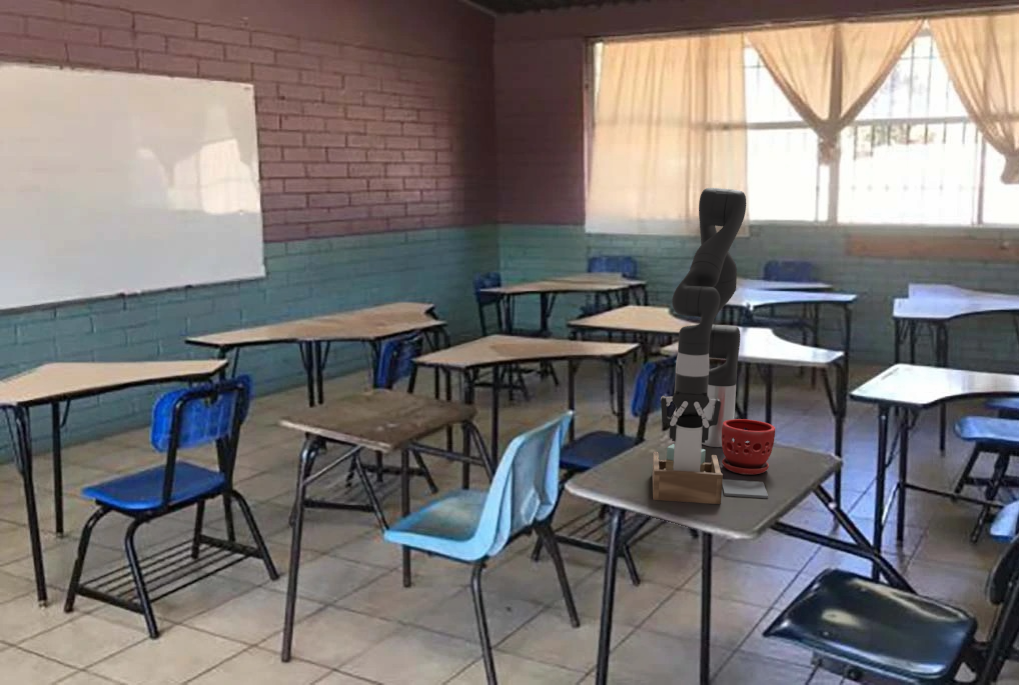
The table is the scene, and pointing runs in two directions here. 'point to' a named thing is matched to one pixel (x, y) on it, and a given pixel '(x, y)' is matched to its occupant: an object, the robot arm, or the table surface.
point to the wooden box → (687, 483)
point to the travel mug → (688, 443)
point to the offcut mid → (670, 462)
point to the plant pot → (747, 445)
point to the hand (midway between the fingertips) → (688, 440)
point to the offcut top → (671, 453)
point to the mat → (744, 488)
